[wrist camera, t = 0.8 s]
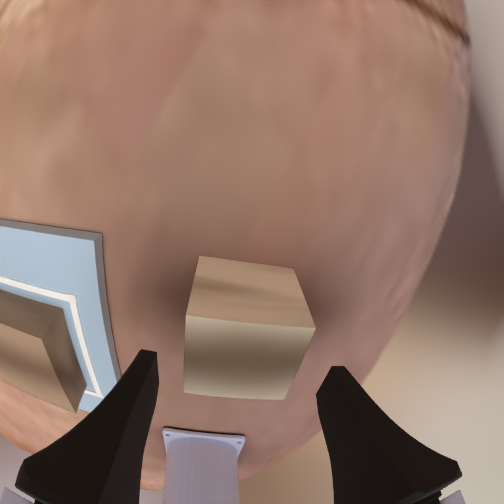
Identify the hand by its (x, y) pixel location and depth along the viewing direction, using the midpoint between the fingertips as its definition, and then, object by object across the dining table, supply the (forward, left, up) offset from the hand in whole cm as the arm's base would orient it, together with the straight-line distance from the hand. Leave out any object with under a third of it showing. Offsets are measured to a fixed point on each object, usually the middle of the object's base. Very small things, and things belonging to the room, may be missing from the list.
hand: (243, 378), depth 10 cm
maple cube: (0, 0, -6) cm, 6 cm away
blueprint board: (-6, +15, -6) cm, 17 cm away
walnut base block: (-6, +15, -5) cm, 17 cm away
